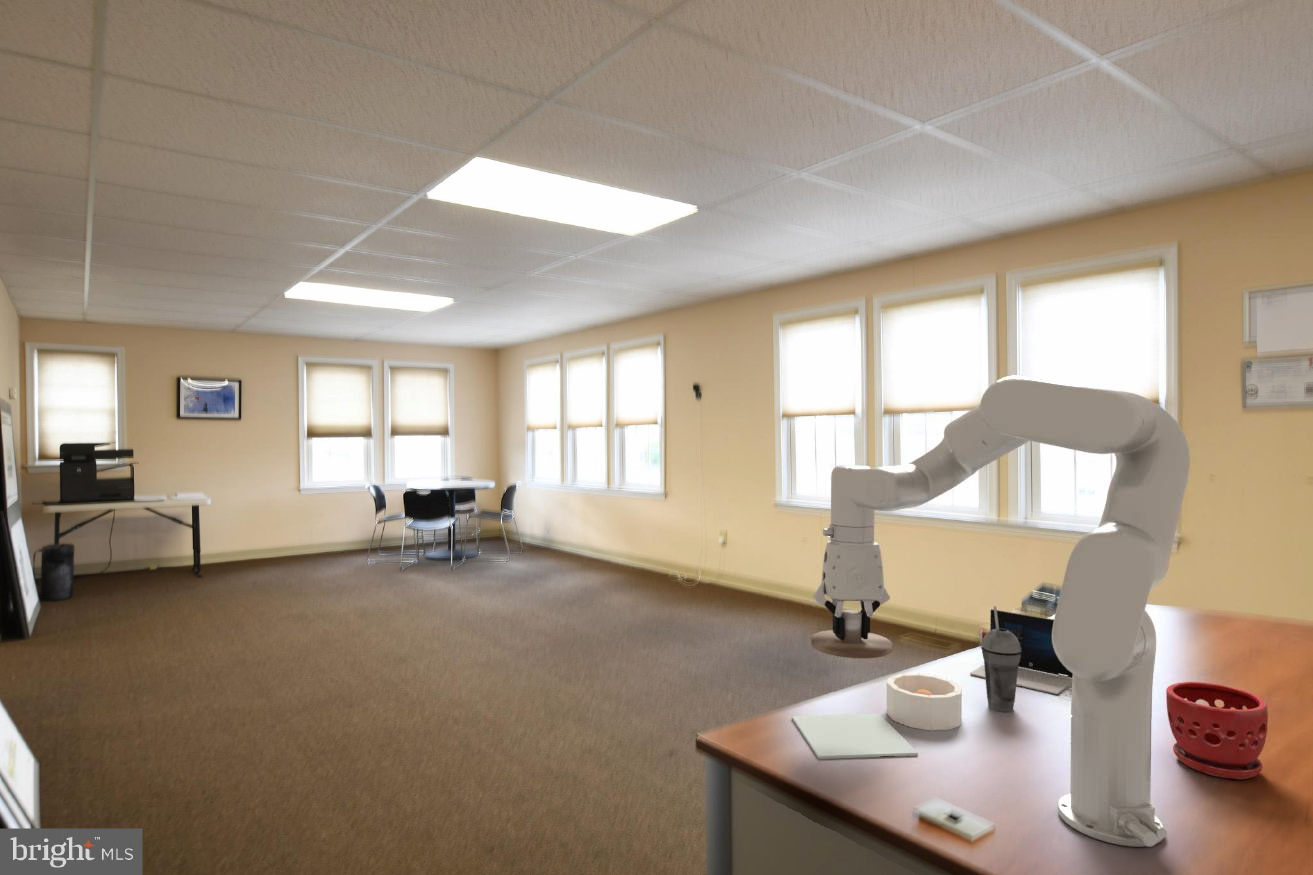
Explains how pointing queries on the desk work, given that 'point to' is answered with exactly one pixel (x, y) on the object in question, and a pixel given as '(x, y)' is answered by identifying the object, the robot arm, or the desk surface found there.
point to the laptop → (1033, 652)
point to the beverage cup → (1001, 667)
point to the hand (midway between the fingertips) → (851, 636)
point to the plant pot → (1217, 729)
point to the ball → (923, 692)
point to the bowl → (924, 701)
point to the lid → (851, 640)
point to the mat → (852, 736)
